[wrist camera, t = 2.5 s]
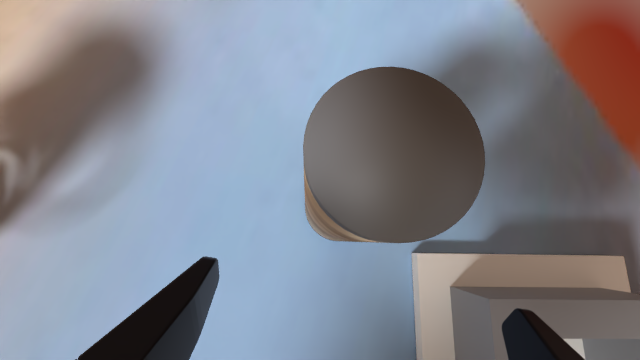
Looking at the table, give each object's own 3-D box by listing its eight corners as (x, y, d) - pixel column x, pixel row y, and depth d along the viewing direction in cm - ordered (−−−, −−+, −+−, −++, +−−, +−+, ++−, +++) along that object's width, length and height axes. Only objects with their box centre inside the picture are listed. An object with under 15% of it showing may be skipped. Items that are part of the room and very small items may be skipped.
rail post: (304, 240, 19) (300, 241, 7) (306, 174, 20) (305, 63, 8) (371, 241, 20) (494, 244, 7) (370, 175, 20) (475, 70, 8)
